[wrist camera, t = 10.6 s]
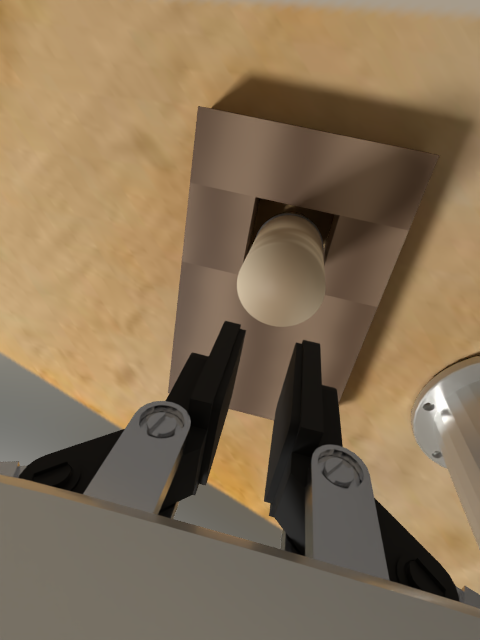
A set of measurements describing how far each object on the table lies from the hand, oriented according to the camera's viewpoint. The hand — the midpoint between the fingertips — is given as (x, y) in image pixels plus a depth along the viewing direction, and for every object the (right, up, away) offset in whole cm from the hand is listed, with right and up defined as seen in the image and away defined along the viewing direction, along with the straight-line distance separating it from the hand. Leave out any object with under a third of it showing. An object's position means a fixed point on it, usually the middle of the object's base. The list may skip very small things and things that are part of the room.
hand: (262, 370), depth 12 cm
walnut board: (+2, +4, +17) cm, 18 cm away
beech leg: (+3, +8, +15) cm, 17 cm away
